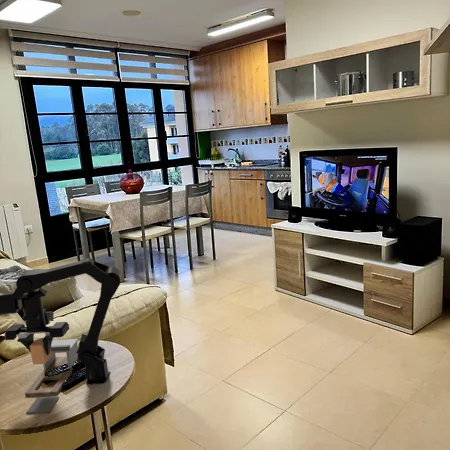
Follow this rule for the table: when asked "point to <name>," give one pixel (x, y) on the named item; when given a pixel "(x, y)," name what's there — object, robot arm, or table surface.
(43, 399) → the mat
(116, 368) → the table surface
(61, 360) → the puzzle board
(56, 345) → the cover
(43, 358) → the block
